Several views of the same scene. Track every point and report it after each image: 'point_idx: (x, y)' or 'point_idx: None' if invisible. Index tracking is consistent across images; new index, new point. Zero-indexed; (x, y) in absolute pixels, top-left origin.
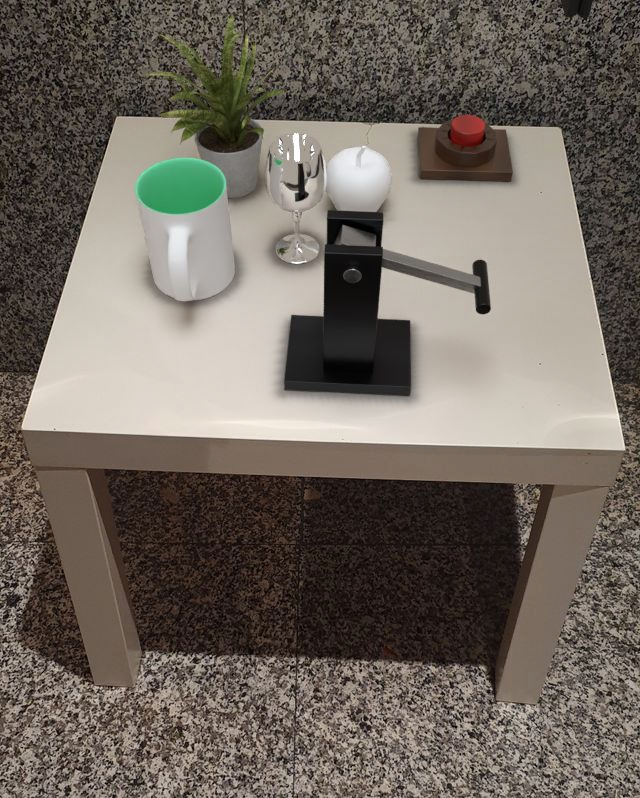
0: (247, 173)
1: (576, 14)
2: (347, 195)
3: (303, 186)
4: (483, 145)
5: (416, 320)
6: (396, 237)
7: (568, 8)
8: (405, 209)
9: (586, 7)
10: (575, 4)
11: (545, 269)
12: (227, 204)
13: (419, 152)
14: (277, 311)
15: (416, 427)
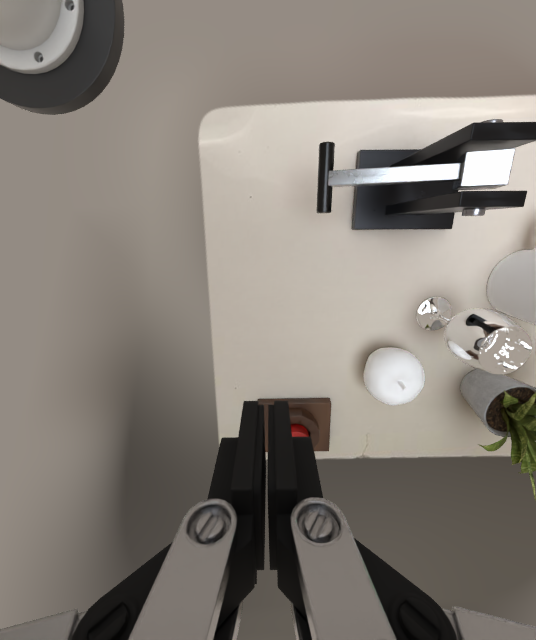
0: (482, 381)
1: (268, 405)
2: (406, 352)
3: (484, 315)
4: None
5: (344, 239)
6: (353, 331)
7: (288, 410)
8: (343, 363)
9: (252, 411)
10: (276, 414)
11: (238, 303)
12: None
13: (329, 423)
14: (456, 242)
15: (354, 117)
